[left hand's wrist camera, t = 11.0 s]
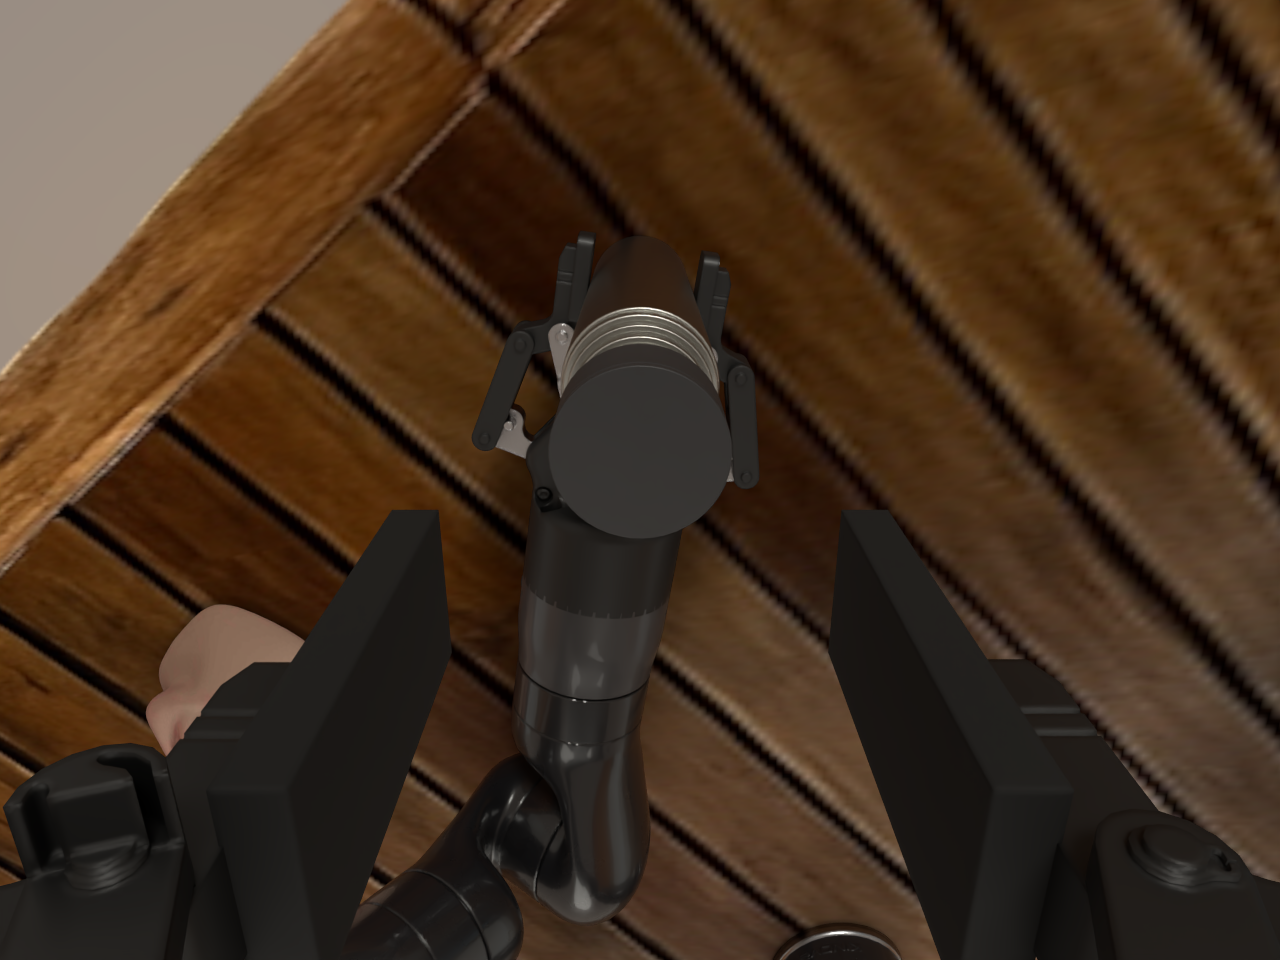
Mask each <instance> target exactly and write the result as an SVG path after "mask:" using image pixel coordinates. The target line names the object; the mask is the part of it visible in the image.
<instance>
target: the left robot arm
mask: <svg viewBox="0 0 1280 960" xmlns="http://www.w3.org/2000/svg"><path fill="white" fill-rule="evenodd" d="M451 653H452V651H451V640H450V630H449V619H448V608H447V597H446V587H445V576H444V565H443V555H442V544H441V533H440V522H439V512H438V510H392V511H391V513H390V514H389V516H388V517H387V519H386V520H385V522H384V523H383V525H382V526H381V528H380V529H379V531H378V532H377V534H376V535H375V537H374V538H373V540H372V541H371V543H370V544H369V546H368V547H367V549H366V550H365V552H364V553H363V555H362V556H361V558H360V559H359V561H358V562H357V564H356V565H355V567H354V568H353V570H352V571H351V573H350V574H349V576H348V577H347V579H346V580H345V582H344V583H343V585H342V586H341V588H340V589H339V591H338V592H337V594H336V595H335V597H334V598H333V600H332V601H331V603H330V604H329V606H328V607H327V609H326V610H325V612H324V613H323V615H322V616H321V618H320V619H319V621H318V622H317V624H316V625H315V627H314V628H313V630H312V631H311V633H310V634H309V636H308V637H307V639H306V640H305V642H304V643H303V645H302V646H301V648H300V649H299V651H298V652H297V654H296V655H295V657H294V658H293V660H292V661H291V662H253V663H252V664H251V665H249V666H248V667H246V668H245V669H243V670H242V671H240V672H239V673H238V674H236V675H235V676H233V677H232V678H230V679H229V680H227V681H226V682H225V683H223V684H222V685H221V686H220V687H219V688H218V690H217V691H216V692H215V693H214V695H213V696H212V697H211V699H210V700H209V701H208V703H207V704H206V705H205V707H204V708H203V709H202V710H201V716H200V717H196V718H195V720H194V721H193V722H192V724H191V725H190V726H189V727H188V729H187V730H186V731H185V733H184V738H183V739H179V741H178V742H177V743H176V744H175V746H174V747H173V748H172V750H171V751H170V752H169V754H168V755H167V756H166V758H165V757H164V756H163V755H162V754H160V753H159V752H158V751H157V750H155V749H154V748H153V747H148V746H143V745H138V744H133V743H126V744H115V745H103V746H99V747H96V748H92V749H89V750H86V751H82V752H79V753H75V754H72V755H70V756H68V757H66V758H64V759H62V760H59V761H57V762H55V763H53V764H51V765H49V766H47V767H45V768H43V769H41V770H40V771H39V772H37V773H36V774H35V775H34V776H32V777H31V778H30V779H28V780H27V781H26V782H24V783H23V784H22V785H20V786H19V787H18V788H17V789H16V790H15V792H14V793H13V794H12V796H11V797H10V798H9V800H8V801H7V802H6V804H5V805H4V806H3V809H4V812H5V815H6V818H7V821H8V824H9V827H10V830H11V833H12V836H13V838H14V841H15V844H16V847H17V850H18V853H19V856H20V859H21V862H22V865H23V868H24V871H25V874H26V876H27V879H25V880H21V881H18V882H15V883H11V884H7V885H3V886H0V960H244V959H245V960H339V959H340V956H341V953H342V951H343V948H344V945H345V942H346V940H347V937H348V934H349V931H350V929H351V926H352V923H353V921H354V918H355V915H356V912H357V910H358V907H359V904H360V901H361V899H362V896H363V893H364V890H365V888H366V885H367V882H368V880H369V877H370V874H371V871H372V869H373V866H374V863H375V860H376V858H377V855H378V852H379V849H380V847H381V844H382V841H383V839H384V836H385V833H386V830H387V828H388V825H389V822H390V819H391V817H392V814H393V811H394V808H395V806H396V803H397V800H398V798H399V795H400V792H401V789H402V787H403V784H404V781H405V778H406V776H407V773H408V770H409V767H410V765H411V762H412V759H413V757H414V754H415V751H416V748H417V746H418V743H419V740H420V737H421V735H422V732H423V729H424V726H425V724H426V721H427V718H428V716H429V713H430V710H431V707H432V705H433V702H434V699H435V696H436V694H437V691H438V688H439V685H440V683H441V680H442V677H443V675H444V672H445V669H446V666H447V664H448V661H449V658H450V655H451ZM828 653H829V655H830V658H831V661H832V664H833V666H834V669H835V672H836V675H837V677H838V680H839V683H840V685H841V688H842V691H843V694H844V696H845V699H846V702H847V705H848V707H849V710H850V713H851V716H852V718H853V721H854V724H855V726H856V729H857V732H858V735H859V737H860V740H861V743H862V746H863V748H864V751H865V754H866V757H867V759H868V762H869V765H870V767H871V770H872V773H873V776H874V778H875V781H876V784H877V787H878V789H879V792H880V795H881V798H882V800H883V803H884V806H885V808H886V811H887V814H888V817H889V819H890V822H891V825H892V828H893V830H894V833H895V836H896V839H897V841H898V844H899V847H900V849H901V852H902V855H903V858H904V860H905V863H906V866H907V869H908V871H909V874H910V877H911V880H912V882H913V885H914V888H915V890H916V893H917V896H918V899H919V901H920V904H921V907H922V910H923V912H924V915H925V918H926V921H927V923H928V926H929V929H930V931H931V934H932V937H933V940H934V942H935V945H936V948H937V951H938V953H939V956H940V959H941V960H1035V958H1036V957H1037V959H1038V960H1280V882H1275V881H1271V880H1268V879H1264V878H1261V877H1258V876H1254V875H1252V874H1251V873H1250V871H1249V870H1248V868H1247V866H1246V865H1245V863H1244V862H1243V860H1242V859H1241V857H1240V856H1239V855H1238V854H1237V853H1236V852H1235V851H1233V850H1232V849H1231V848H1230V847H1229V846H1228V845H1226V844H1225V843H1224V842H1223V841H1222V840H1221V839H1219V838H1218V837H1217V836H1216V835H1214V834H1212V833H1210V832H1208V831H1206V830H1205V829H1203V828H1201V827H1199V826H1197V825H1195V824H1194V823H1192V822H1190V821H1188V820H1185V819H1182V818H1179V817H1176V816H1172V815H1169V814H1166V813H1163V812H1160V811H1158V809H1157V808H1156V807H1155V806H1154V804H1153V803H1152V802H1151V800H1150V799H1149V798H1148V796H1147V795H1146V794H1145V793H1144V791H1143V790H1142V789H1141V787H1140V786H1139V785H1138V783H1137V782H1136V781H1135V780H1134V778H1133V777H1132V776H1131V774H1130V773H1129V772H1128V770H1127V769H1126V768H1125V767H1124V765H1123V764H1122V763H1121V761H1120V760H1119V759H1118V757H1117V756H1116V755H1115V754H1114V752H1113V751H1112V750H1111V748H1110V747H1109V746H1108V745H1107V743H1106V742H1105V741H1104V739H1103V738H1102V737H1101V736H1097V730H1096V729H1095V728H1094V726H1093V725H1092V724H1091V722H1090V721H1089V720H1088V719H1087V717H1086V716H1085V715H1084V714H1080V708H1079V707H1078V706H1077V704H1076V703H1075V702H1074V700H1073V699H1072V698H1071V696H1070V695H1069V694H1068V693H1067V691H1066V690H1065V689H1064V687H1063V686H1062V685H1061V683H1060V682H1059V681H1057V680H1056V679H1054V678H1053V677H1051V676H1050V675H1048V674H1047V673H1045V672H1044V671H1043V670H1041V669H1040V668H1038V667H1037V666H1035V665H1034V664H1032V663H1031V662H1029V661H1028V660H1027V659H987V658H986V657H985V655H984V654H983V652H982V651H981V649H980V648H979V646H978V645H977V643H976V642H975V640H974V639H973V637H972V636H971V634H970V633H969V631H968V630H967V628H966V627H965V625H964V624H963V622H962V621H961V619H960V618H959V616H958V615H957V613H956V612H955V610H954V609H953V607H952V606H951V604H950V603H949V601H948V600H947V598H946V597H945V595H944V594H943V592H942V591H941V589H940V588H939V586H938V585H937V583H936V582H935V580H934V579H933V577H932V576H931V574H930V573H929V571H928V570H927V568H926V567H925V565H924V564H923V562H922V561H921V559H920V558H919V556H918V555H917V553H916V552H915V550H914V549H913V547H912V546H911V544H910V543H909V541H908V540H907V538H906V537H905V535H904V534H903V532H902V531H901V529H900V528H899V526H898V525H897V523H896V522H895V520H894V519H893V517H892V516H891V514H890V513H889V511H888V510H842V512H841V522H840V533H839V544H838V555H837V565H836V576H835V587H834V597H833V608H832V619H831V630H830V640H829V651H828Z"/></svg>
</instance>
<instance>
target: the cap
mask: <svg viewBox="0 0 1280 960" xmlns="http://www.w3.org/2000/svg"><path fill="white" fill-rule="evenodd" d="M548 458H549V466H550V471H551V474H552V478H553V481H554V483H555V485H556V487H557V490H558V491H559V493H560V495H561V496H562V498H563V500H564V501H565V502H566V503H567V505H568V506H569V507H570V508H571V509H572V510H573V511H574V512H575V513H576V514H577V515H578V516H579V517H580V518H582V519H583V520H584V521H586V522H587V523H589V524H590V525H592V526H594V527H596V528H598V529H600V530H602V531H605V532H607V533H610V534H613V535H617V536H621V537H628V538H654V537H659V536H664V535H667V534H670V533H673V532H676V531H678V530H681V529H683V528H685V527H687V526H688V525H690V524H692V523H693V522H695V521H696V520H698V519H699V518H700V517H701V516H702V515H704V514H705V513H706V512H707V511H708V510H709V509H710V508H711V506H712V505H713V504H714V503H715V501H716V500H717V499H718V497H719V496H720V494H721V492H722V490H723V488H724V487H725V484H726V482H727V479H728V476H729V473H730V468H731V463H732V440H731V435H730V430H729V427H728V424H727V420H726V417H725V414H724V411H723V407H722V404H721V401H720V398H719V395H718V393H717V391H716V389H715V387H714V385H713V383H712V382H711V380H710V379H709V378H708V376H707V375H706V374H705V373H704V372H703V371H702V369H701V368H700V367H699V366H697V365H696V364H695V363H694V362H693V361H691V360H690V359H688V358H687V357H685V356H684V355H682V354H680V353H678V352H676V351H673V350H671V349H668V348H665V347H661V346H656V345H650V344H631V345H624V346H619V347H615V348H612V349H610V350H607V351H604V352H603V353H601V354H599V355H597V356H595V357H594V358H592V359H591V360H589V361H588V362H586V363H585V364H584V365H583V366H582V367H581V368H580V369H579V370H578V371H577V372H576V373H575V374H574V376H573V377H572V378H571V379H570V381H569V383H568V384H567V386H566V388H565V390H564V392H563V394H562V397H561V399H560V403H559V406H558V409H557V412H556V416H555V419H554V422H553V426H552V429H551V433H550V438H549V445H548Z"/></svg>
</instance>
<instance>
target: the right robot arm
mask: <svg viewBox="0 0 1280 960" xmlns="http://www.w3.org/2000/svg"><path fill="white" fill-rule="evenodd" d="M595 240H596V233H592V232H586V231H580V233H579V235H578V241H577V244H574V243H567V245H566V246H565V248H564V250H563V252H562V254H561V255H560V257H559V266H558V274H557V283H556V292H555V300H554V309H553V314H552V315H551V316H549V317H548V318H546V319H543V320H538V321H533V322H531V321H521V322H520V323H518V324H517V325H516V327H515V328H514V330H513V332H512V333H511V334H510V336H509V337H508V339H507V342H506V345H505V347H504V350H503V353H502V355H501V358H500V361H499V364H498V366H497V369H496V372H495V374H494V377H493V380H492V382H491V385H490V388H489V391H488V393H487V396H486V399H485V401H484V404H483V407H482V409H481V412H480V415H479V417H478V420H477V423H476V426H475V428H474V431H473V434H472V442H473V444H474V446H475V447H476V448H478V449H479V450H482V451H489V450H492V449H493V448H494V447H497V448H500V449H502V450H505V451H507V452H510V453H512V454H515V455H518V456H520V457H523V458H525V459H526V465H527V467H528V470H529V472H530V474H531V477H532V481H533V492H532V501H531V510H530V518H529V527H528V535H527V544H526V553H525V561H524V570H523V576H522V580H521V595H520V603H519V613H518V633H519V653H518V654H519V655H518V661H517V670H516V678H515V686H514V695H513V705H512V719H511V728H512V735H513V738H514V741H515V744H516V746H517V748H518V750H519V751H520V753H519V754H515V755H513V756H510V757H508V758H506V759H504V760H502V761H501V762H499V763H498V764H497V765H496V766H495V767H493V768H492V769H491V770H490V772H489V773H488V774H487V775H486V776H485V778H484V779H483V780H482V781H481V783H480V784H479V786H478V787H477V788H476V790H475V791H474V792H473V794H472V795H471V797H470V798H469V800H468V801H467V802H466V804H465V805H464V806H463V808H462V809H461V810H460V812H459V813H458V814H457V815H456V817H455V818H454V819H453V820H452V821H451V823H450V824H449V825H448V826H447V827H446V829H445V830H444V831H443V832H442V833H441V835H440V836H439V837H438V838H437V840H436V841H435V842H434V843H433V844H432V846H431V847H430V848H429V849H428V850H427V851H426V853H425V854H424V855H423V856H422V857H421V858H420V859H419V860H418V861H417V862H416V863H415V864H414V865H413V866H411V867H410V868H408V869H407V870H406V871H404V872H403V873H402V874H400V875H399V876H397V877H396V878H395V879H393V880H392V881H391V882H389V883H388V884H387V885H385V886H384V887H383V888H381V889H380V890H379V891H377V892H376V893H375V894H373V895H372V896H371V897H369V898H368V899H367V900H365V901H364V902H363V903H361V904H360V905H359V907H358V910H357V912H356V915H355V918H354V921H353V923H352V926H351V929H350V931H349V934H348V937H347V940H346V942H345V945H344V948H343V951H342V953H341V956H340V959H339V960H516V959H517V957H518V955H519V952H520V950H521V947H522V942H523V934H524V929H523V920H522V915H521V912H520V909H519V906H518V904H517V901H516V898H515V896H514V895H513V893H512V891H511V889H510V888H509V886H508V884H507V883H506V881H505V880H504V878H503V877H505V878H506V879H508V880H509V881H510V882H512V883H513V884H515V885H516V886H517V887H519V888H520V889H521V890H523V891H524V892H525V893H527V894H528V895H529V896H531V897H532V898H533V899H535V900H536V901H537V902H539V903H540V904H541V905H543V906H544V907H545V908H547V909H548V910H550V911H551V912H552V913H554V914H555V915H557V916H558V917H560V918H561V919H563V920H565V921H567V922H569V923H572V924H575V925H580V926H590V925H597V924H599V923H602V922H605V921H607V920H609V919H610V918H612V917H613V916H615V915H616V914H617V913H619V912H620V911H621V910H622V909H623V908H624V907H625V906H626V905H627V903H628V902H629V901H630V899H631V898H632V896H633V895H634V893H635V892H636V890H637V888H638V886H639V884H640V881H641V879H642V876H643V873H644V870H645V867H646V863H647V858H648V852H649V845H650V815H649V804H648V797H647V789H646V781H645V774H644V765H643V754H642V748H641V742H640V723H641V718H642V714H643V709H644V703H645V698H646V693H647V687H648V682H649V677H650V671H651V667H652V664H653V661H654V658H655V656H656V653H657V650H658V647H659V644H660V641H661V637H662V633H663V628H664V623H665V618H666V612H667V607H668V602H669V596H670V591H671V586H672V581H673V576H674V570H675V565H676V560H677V555H678V549H679V544H680V539H681V533H682V529H681V530H678V531H676V532H673V533H670V534H667V535H664V536H659V537H654V538H628V537H621V536H617V535H613V534H610V533H607V532H605V531H602V530H600V529H598V528H596V527H594V526H592V525H590V524H589V523H587V522H586V521H584V520H583V519H582V518H580V517H579V516H578V515H577V514H576V513H575V512H574V511H573V510H572V509H571V508H570V507H569V506H568V505H567V503H566V502H565V501H564V500H563V498H562V496H561V495H560V493H559V491H558V490H557V487H556V485H555V483H554V481H553V478H552V474H551V471H550V466H549V458H548V445H549V438H550V433H551V429H552V426H553V422H554V419H555V416H556V414H555V415H554V416H553V417H552V418H551V419H550V420H549V421H548V422H547V423H546V424H545V425H544V426H543V427H542V428H541V429H540V430H539V431H538V432H537V433H536V434H535V435H534V436H533V435H531V434H530V433H529V432H528V431H527V430H526V427H525V419H526V414H525V411H524V409H523V408H522V407H521V406H519V405H517V404H514V402H515V399H516V396H517V394H518V391H519V389H520V386H521V383H522V381H523V378H524V376H525V373H526V370H527V368H528V365H529V363H530V360H531V357H532V355H533V354H537V353H542V352H547V351H551V352H552V356H553V361H554V365H555V369H556V374H557V383H558V389H559V394H560V398H561V397H562V394H561V373H562V367H563V363H564V360H565V357H566V354H567V351H568V348H569V345H570V342H571V339H572V336H573V333H574V330H575V327H576V324H577V321H578V318H579V315H580V312H581V309H582V306H583V304H584V301H585V298H586V295H587V292H588V289H589V286H590V279H591V271H592V263H593V255H594V248H595ZM719 262H720V256H719V255H718V253H715V252H709V251H702V252H701V255H700V260H699V266H698V272H697V277H696V283H695V289H694V294H693V295H694V298H695V301H696V303H697V306H698V309H699V312H700V315H701V318H702V321H703V324H704V327H705V330H706V333H707V336H708V339H709V341H710V344H711V347H712V350H713V353H714V356H715V359H716V362H717V366H718V371H719V380H721V381H723V382H724V393H725V409H726V420H727V424H728V427H729V430H730V435H731V440H732V463H731V468H730V473H729V476H728V479H727V482H729V481H734V482H735V484H736V485H737V486H738V487H740V488H742V489H749V488H752V487H754V486H755V485H756V484H757V482H758V480H759V462H758V441H757V420H756V399H755V378H754V373H753V371H752V369H751V367H750V365H749V363H748V361H747V359H746V358H745V356H743V355H742V354H739V353H735V352H733V351H731V350H729V349H727V348H726V347H724V346H723V345H722V344H721V334H722V328H723V323H724V318H725V313H726V307H727V302H728V297H729V292H730V286H731V283H730V278H729V272H728V271H727V269H726V268H723V267H719ZM501 875H502V876H503V877H502V876H501ZM774 960H902V959H901V956H900V953H899V951H898V949H897V947H896V946H895V945H894V943H893V942H892V941H891V940H890V939H889V938H888V937H886V936H885V935H884V934H882V933H880V932H879V931H877V930H875V929H872V928H870V927H867V926H863V925H859V924H853V923H831V924H824V925H820V926H816V927H813V928H810V929H808V930H805V931H803V932H801V933H799V934H797V935H796V936H794V937H793V938H791V939H790V940H789V941H787V942H786V943H785V944H784V945H783V946H782V947H781V948H780V950H779V951H778V952H777V954H776V956H775V958H774Z"/></svg>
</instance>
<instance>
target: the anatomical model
mask: <svg viewBox="0 0 1280 960" xmlns="http://www.w3.org/2000/svg"><path fill="white" fill-rule="evenodd" d="M304 642H305V641H304V640H303V639H301V638H300V637H298V636H297V635H295V634H293V633H292V632H290V631H289V630H287V629H285V628H283V627H281V626H279V625H278V624H276V623H274V622H272V621H270V620H268V619H266V618H263V617H261V616H259V615H257V614H255V613H252V612H249V611H247V610H244V609H241V608H239V607H235V606H230V605H213V606H210V607H208V608H206V609H204V610H203V611H201V612H200V613H199V614H198V615H196V616H195V617H194V618H193V619H192V620H191V621H190V622H189V623H188V625H187V626H186V627H185V628H184V629H183V630H182V631H181V632H180V634H179V635H178V636H177V637H176V638H175V640H174V641H173V642H172V644H171V646H170V647H169V649H168V651H167V653H166V654H165V656H164V658H163V660H162V662H161V665H160V668H159V678H160V683H161V685H162V688H163V692H162V693H160V694H159V695H157V696H156V697H155V698H153V699H152V701H151V702H150V703H149V705H148V707H147V710H146V716H147V720H148V722H149V725H150V727H151V729H152V731H153V732H154V734H155V736H156V738H157V740H158V742H159V744H160V746H161V747H162V749H163V751H164V753H165V755H166V756H167V755H168V754H169V752H170V751H171V750H172V748H173V747H174V746H175V744H176V743H177V742H178V741H179V739H183V738H184V733H185V731H186V730H187V729H188V727H189V726H190V725H191V724H192V722H193V721H194V720H195V718H196V717H200V716H201V710H202V709H203V708H204V707H205V705H206V704H207V703H208V701H209V700H210V699H211V697H212V696H213V695H214V693H215V692H216V691H217V690H218V688H219V687H220V686H221V685H222V684H223V683H225V682H226V681H227V680H229V679H230V678H232V677H233V676H235V675H236V674H238V673H239V672H240V671H242V670H243V669H245V668H246V667H248V666H249V665H251V664H252V663H253V662H291V661H292V660H293V658H294V657H295V655H296V654H297V652H298V651H299V649H300V648H301V646H302V645H303V643H304Z"/></svg>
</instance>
